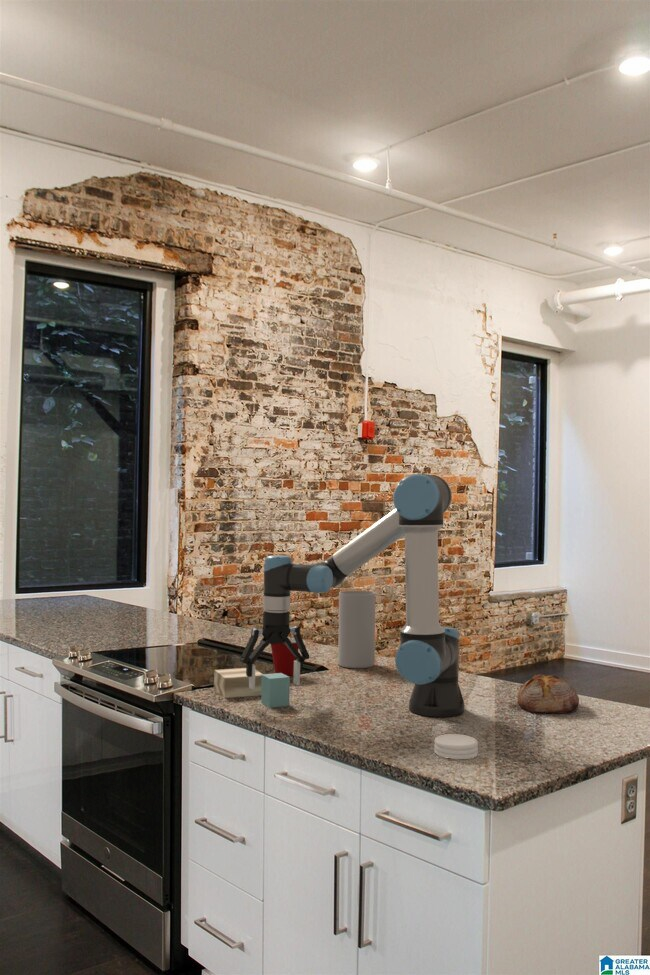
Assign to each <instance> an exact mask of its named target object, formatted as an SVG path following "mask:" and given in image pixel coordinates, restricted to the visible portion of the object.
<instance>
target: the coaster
mask: <svg viewBox="0 0 650 975" xmlns="http://www.w3.org/2000/svg"><path fill="white" fill-rule="evenodd" d="M478 745H479V741H478V739H476V737H475V738H474V737H472V736H470V735H465V734H461V733H460V734H459V733H447V734H446V733H445V734H441V735H438V736H436V737H435V738H434V746H433V747H434V751H433V752H434V754H435V753H436V754H437V755H439V756H442V757H448V758H453V759H469V760H471V759H470V758H473V759H475V758H477V757H478V754H479V752H478V750H479V747H478ZM436 754H435V755H436ZM437 755H436V756H437ZM439 756H438V757H439ZM442 757H441V758H442ZM474 757H475V758H474Z"/></svg>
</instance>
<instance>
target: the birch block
mask: <svg viewBox="0 0 650 975" xmlns="http://www.w3.org/2000/svg"><path fill="white" fill-rule="evenodd" d="M213 675H214V676H213V690H215V691H216V692H217V693H218V694H219V695H220V696H222V697H223V698H224V699H229V698H240V697H243V698H244V697H255V696H261V680H262V675H263V673H261V672H260V671H259V670H258V669H256V668H255V689H251V688H249V677H248V676H247V675H246V667H241V668H238V667H237V668H224V669H223V668H221V669H214V670H213Z"/></svg>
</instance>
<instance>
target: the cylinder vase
mask: <svg viewBox="0 0 650 975" xmlns="http://www.w3.org/2000/svg"><path fill="white" fill-rule="evenodd" d="M337 638H338V639H337V640H338V644H337V645H338V647H337V648H338V649H337V650H338V651H337V653H338V654H337V657H338V658H337V662H338V663H337V664H338V666H340V667H341V668H347V669H368V668H372V667H374V665H375V662H376V660H375V659H376V658H375V657H376V656H375V651H376V641H375V639H376V592H375V591H369V590H343V591H339V592H338V637H337Z"/></svg>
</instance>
